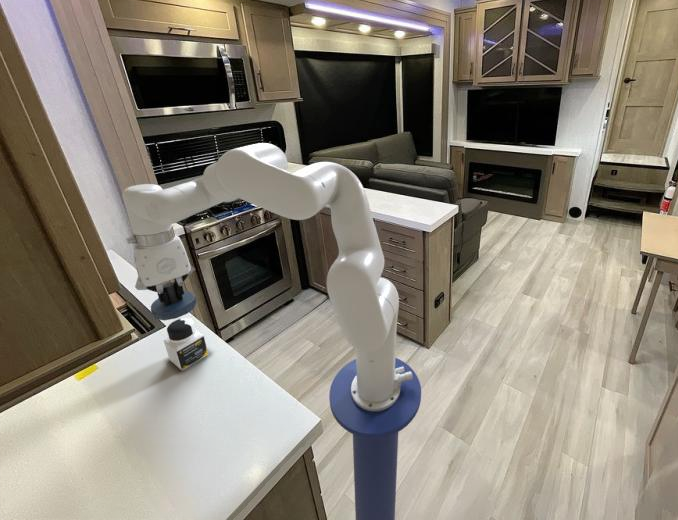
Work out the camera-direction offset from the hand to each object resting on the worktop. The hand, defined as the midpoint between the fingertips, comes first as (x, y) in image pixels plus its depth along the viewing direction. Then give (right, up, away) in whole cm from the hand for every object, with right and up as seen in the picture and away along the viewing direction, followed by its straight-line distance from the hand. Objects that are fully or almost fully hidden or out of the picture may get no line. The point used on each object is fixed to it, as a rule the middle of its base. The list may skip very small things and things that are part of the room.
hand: (172, 299), depth 82 cm
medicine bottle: (-1, -18, +8) cm, 20 cm away
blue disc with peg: (0, -2, +1) cm, 3 cm away
